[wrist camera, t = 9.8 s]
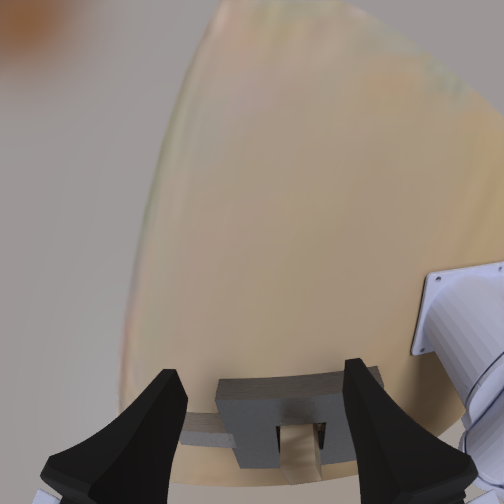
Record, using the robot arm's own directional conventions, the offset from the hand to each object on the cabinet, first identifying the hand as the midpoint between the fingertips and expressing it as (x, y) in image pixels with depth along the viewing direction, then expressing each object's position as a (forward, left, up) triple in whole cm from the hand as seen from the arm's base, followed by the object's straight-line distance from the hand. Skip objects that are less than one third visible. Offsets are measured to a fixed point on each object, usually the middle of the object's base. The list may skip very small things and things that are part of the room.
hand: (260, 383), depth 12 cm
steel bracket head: (+1, +17, -9) cm, 19 cm away
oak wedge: (-2, +16, -10) cm, 19 cm away
